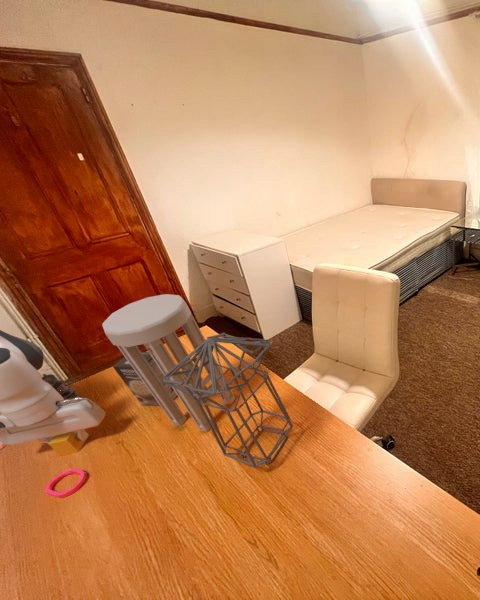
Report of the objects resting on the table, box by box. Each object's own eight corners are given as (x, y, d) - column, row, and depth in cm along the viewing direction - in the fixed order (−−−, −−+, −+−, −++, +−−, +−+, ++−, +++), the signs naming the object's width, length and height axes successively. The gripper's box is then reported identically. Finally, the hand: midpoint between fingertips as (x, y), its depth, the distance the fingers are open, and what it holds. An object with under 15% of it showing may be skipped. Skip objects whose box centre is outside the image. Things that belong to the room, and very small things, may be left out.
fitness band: (94, 474, 75) (90, 471, 74) (68, 500, 70) (63, 497, 69) (69, 469, 76) (65, 465, 75) (41, 493, 71) (37, 490, 71)
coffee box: (140, 406, 92) (110, 366, 84) (156, 389, 98) (129, 350, 89) (167, 407, 91) (140, 367, 83) (182, 390, 96) (158, 351, 88)
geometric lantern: (269, 486, 69) (207, 374, 51) (216, 467, 74) (142, 358, 56) (308, 427, 82) (269, 320, 63) (260, 414, 87) (211, 311, 68)
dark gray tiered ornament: (64, 397, 97) (37, 369, 91) (85, 392, 99) (61, 364, 92) (52, 411, 93) (23, 383, 86) (75, 406, 94) (49, 378, 88)
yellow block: (60, 455, 80) (47, 444, 77) (73, 439, 84) (61, 427, 81) (78, 451, 80) (66, 439, 78) (89, 435, 85) (78, 423, 82)
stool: (246, 394, 93) (198, 295, 75) (207, 440, 81) (138, 335, 62) (204, 387, 97) (149, 291, 78) (161, 430, 84) (83, 328, 66)
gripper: (92, 386, 78) (122, 421, 86) (-4, 406, 75) (35, 441, 82) (77, 405, 73) (110, 441, 80) (-28, 428, 69) (16, 463, 77)
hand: (71, 441), depth 81 cm, fingers closed on yellow block, 4 cm apart
